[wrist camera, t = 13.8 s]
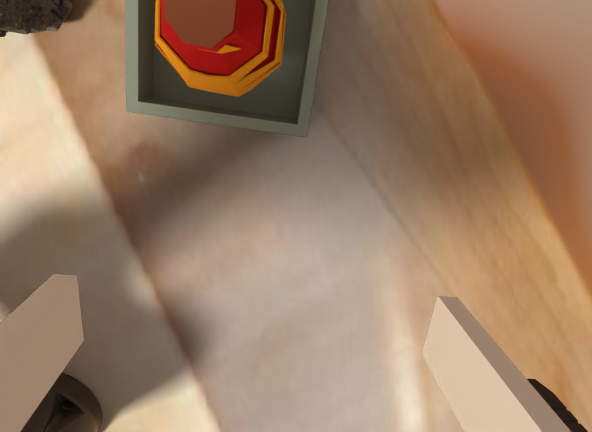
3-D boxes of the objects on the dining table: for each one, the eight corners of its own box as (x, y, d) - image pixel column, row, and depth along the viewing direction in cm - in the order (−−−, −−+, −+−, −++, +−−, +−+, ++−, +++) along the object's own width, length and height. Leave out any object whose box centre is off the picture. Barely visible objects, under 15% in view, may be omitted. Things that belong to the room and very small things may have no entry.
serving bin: (144, 106, 37) (126, 111, 33) (145, -88, 32) (123, -115, 27) (303, 129, 39) (306, 137, 34) (330, -52, 33) (339, -72, 29)
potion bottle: (155, 53, 35) (76, 41, 21) (206, -58, 32) (153, -157, 18) (253, 113, 38) (240, 139, 24) (308, 15, 35) (331, -23, 21)
